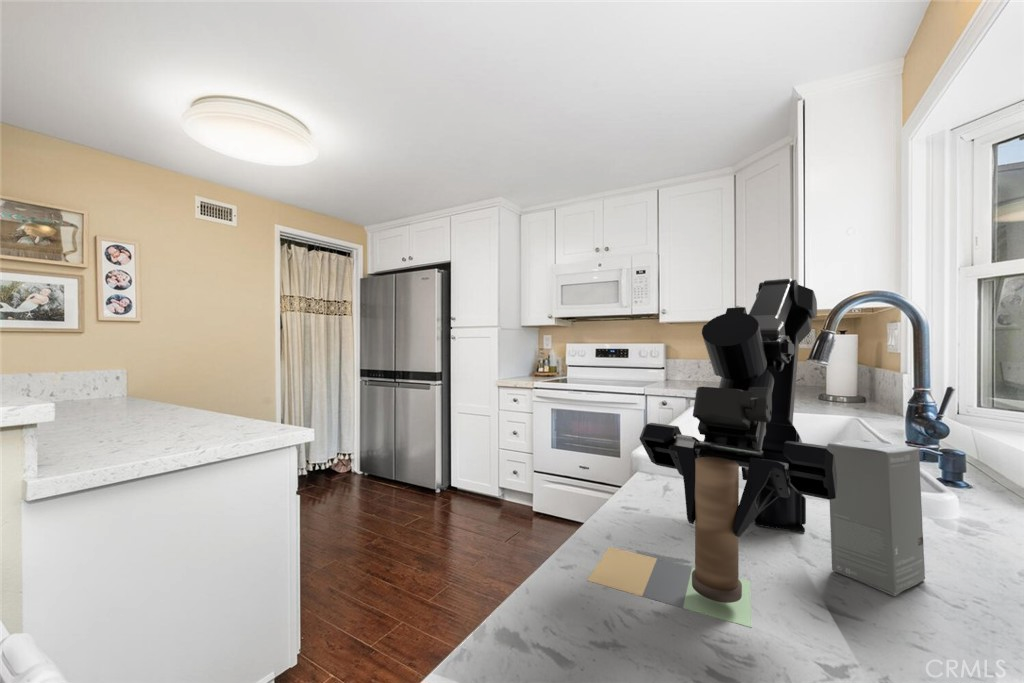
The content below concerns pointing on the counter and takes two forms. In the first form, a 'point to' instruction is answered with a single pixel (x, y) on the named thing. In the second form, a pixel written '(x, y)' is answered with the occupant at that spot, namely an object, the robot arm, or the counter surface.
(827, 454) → the robot arm
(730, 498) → the walnut peg
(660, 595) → the striped board
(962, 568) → the counter surface
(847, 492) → the skincare box
